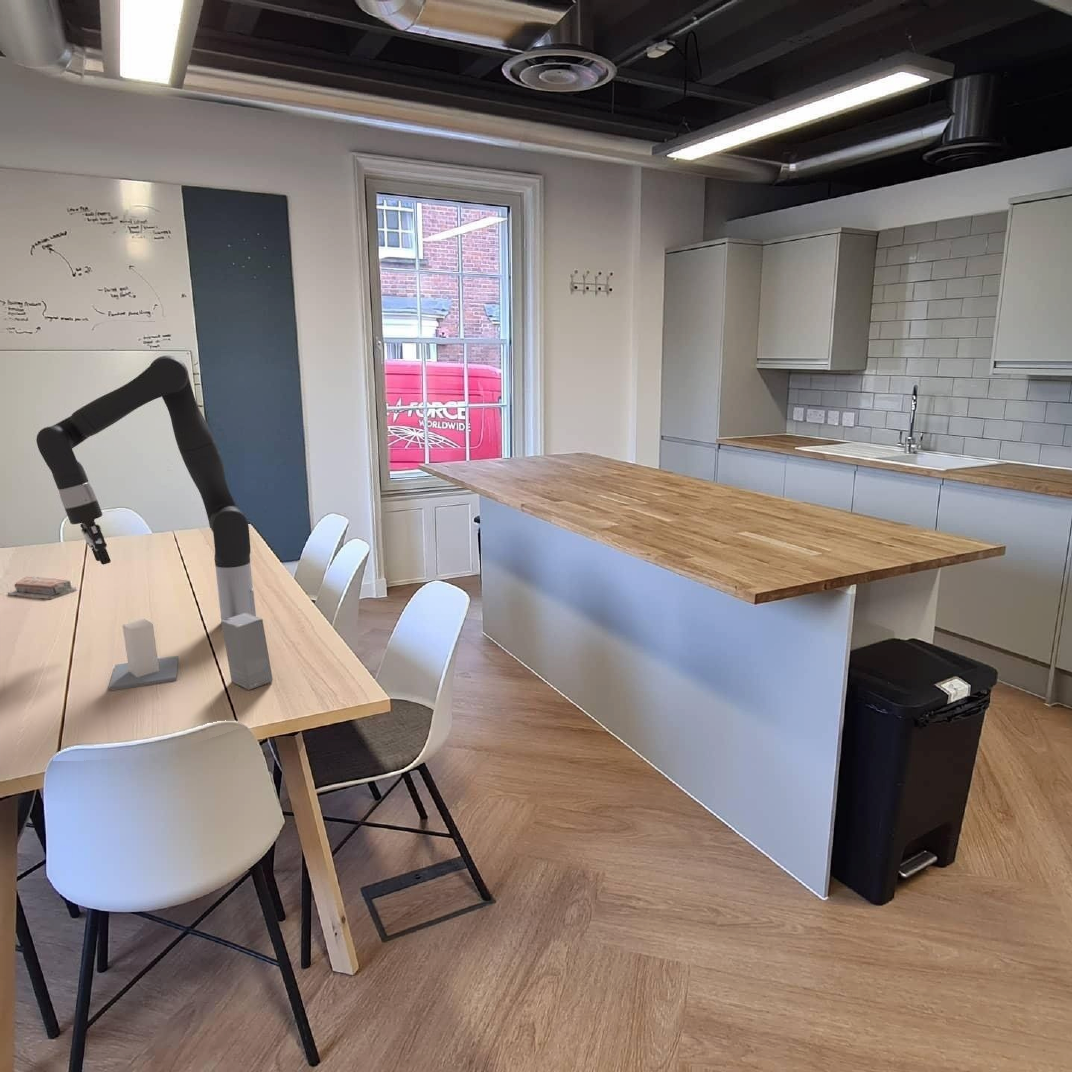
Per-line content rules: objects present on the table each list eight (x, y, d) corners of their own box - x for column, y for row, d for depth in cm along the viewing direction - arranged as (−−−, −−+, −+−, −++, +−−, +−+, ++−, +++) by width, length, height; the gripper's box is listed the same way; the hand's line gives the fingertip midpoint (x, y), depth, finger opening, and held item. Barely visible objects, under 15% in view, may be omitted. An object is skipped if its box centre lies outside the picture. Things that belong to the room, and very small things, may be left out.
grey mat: (178, 658, 192) (178, 655, 191) (176, 680, 179) (175, 677, 179) (115, 667, 186) (115, 664, 186) (108, 690, 174) (108, 687, 174)
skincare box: (273, 682, 178) (267, 618, 174) (244, 692, 173) (237, 626, 169) (255, 672, 183) (248, 610, 179) (226, 682, 178) (219, 618, 174)
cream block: (150, 665, 186) (144, 618, 183) (159, 670, 183) (152, 623, 180) (129, 671, 182) (122, 624, 179) (137, 677, 179) (130, 629, 176)
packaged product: (76, 577, 246) (49, 586, 237) (78, 591, 247) (51, 601, 238) (33, 573, 251) (4, 581, 242) (35, 587, 252) (7, 596, 243)
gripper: (100, 499, 191) (124, 559, 195) (92, 497, 202) (114, 554, 206) (67, 508, 187) (92, 570, 191) (60, 506, 198) (84, 564, 202)
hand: (103, 561), depth 199 cm, fingers open, 8 cm apart
